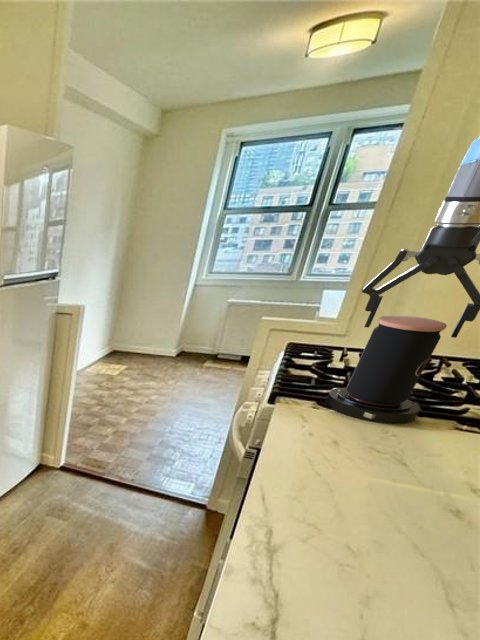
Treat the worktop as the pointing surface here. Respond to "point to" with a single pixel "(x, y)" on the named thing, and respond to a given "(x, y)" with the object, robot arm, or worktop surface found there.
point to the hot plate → (371, 408)
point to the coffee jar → (394, 359)
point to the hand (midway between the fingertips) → (408, 331)
